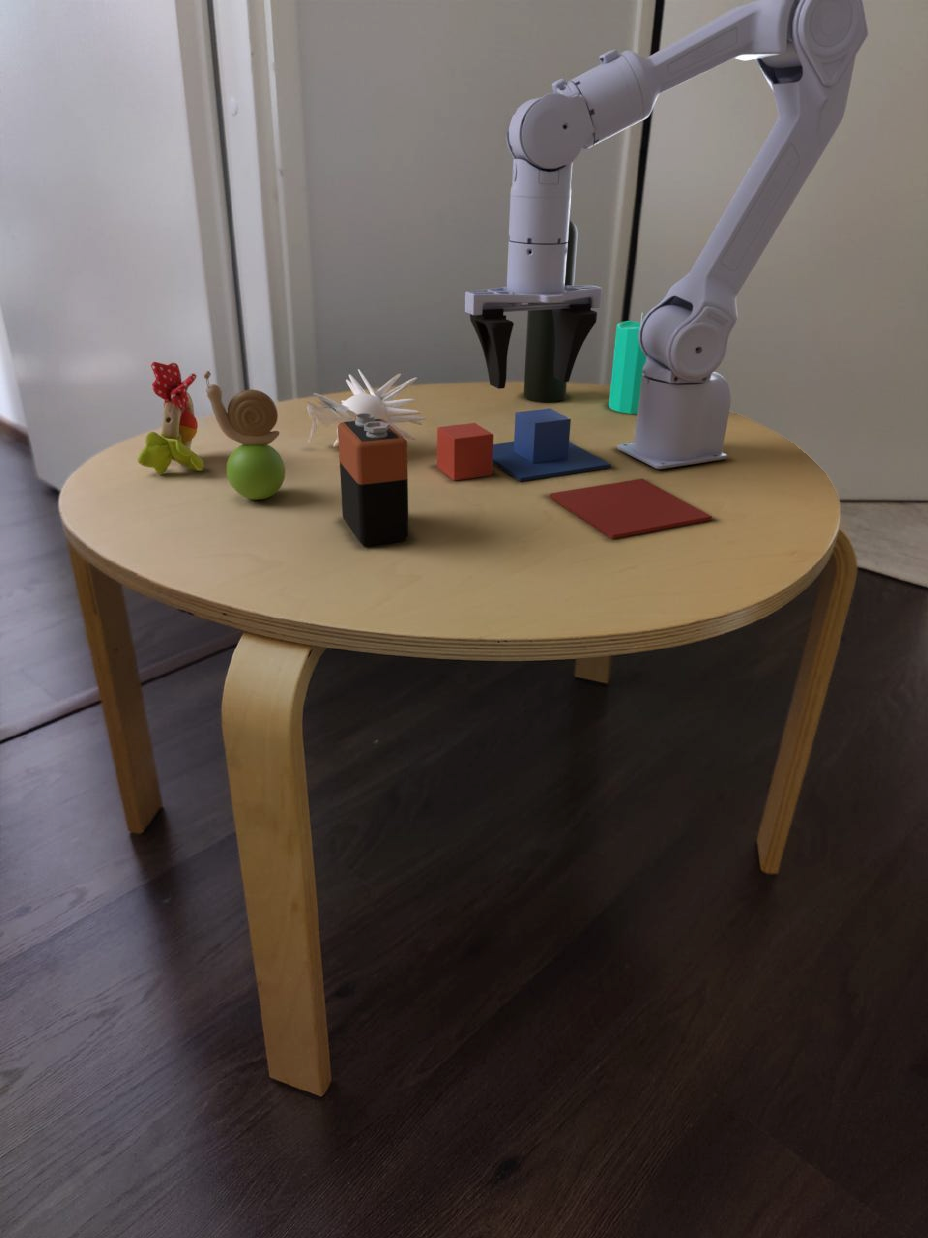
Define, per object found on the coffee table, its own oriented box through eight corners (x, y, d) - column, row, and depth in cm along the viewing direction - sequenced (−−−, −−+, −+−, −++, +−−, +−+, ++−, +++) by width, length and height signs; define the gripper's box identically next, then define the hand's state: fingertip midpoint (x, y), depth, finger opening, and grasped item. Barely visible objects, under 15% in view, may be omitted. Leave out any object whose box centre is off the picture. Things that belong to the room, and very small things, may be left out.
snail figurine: (224, 488, 85) (208, 364, 79) (290, 487, 86) (279, 364, 80) (215, 508, 80) (197, 379, 75) (284, 507, 81) (272, 378, 75)
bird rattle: (155, 478, 93) (132, 471, 84) (150, 373, 92) (126, 355, 83) (214, 477, 94) (197, 471, 85) (210, 373, 93) (192, 355, 84)
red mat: (641, 482, 89) (642, 478, 88) (711, 520, 80) (712, 516, 80) (549, 497, 84) (549, 493, 84) (612, 539, 76) (612, 534, 76)
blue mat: (557, 438, 101) (558, 435, 101) (610, 467, 92) (610, 464, 92) (473, 450, 97) (473, 446, 97) (520, 481, 88) (520, 477, 88)
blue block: (547, 446, 97) (550, 408, 95) (568, 458, 94) (571, 418, 91) (513, 451, 95) (515, 412, 93) (532, 463, 92) (535, 423, 90)
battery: (361, 548, 73) (356, 433, 68) (341, 519, 79) (335, 411, 74) (410, 541, 75) (408, 428, 70) (387, 513, 80) (384, 406, 75)
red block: (473, 462, 93) (474, 422, 91) (492, 475, 90) (493, 433, 88) (436, 467, 92) (436, 426, 89) (454, 480, 88) (454, 438, 86)
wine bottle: (568, 393, 119) (586, 146, 105) (562, 403, 114) (581, 146, 100) (527, 389, 120) (540, 145, 106) (520, 400, 116) (532, 145, 101)
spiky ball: (293, 454, 98) (278, 380, 93) (382, 426, 104) (372, 355, 99) (342, 480, 90) (329, 402, 85) (435, 448, 96) (428, 373, 91)
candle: (654, 415, 110) (666, 317, 105) (607, 411, 111) (616, 314, 106) (654, 403, 116) (666, 309, 110) (609, 399, 117) (619, 306, 111)
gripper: (489, 247, 77) (484, 398, 84) (624, 243, 83) (609, 385, 89) (456, 239, 83) (454, 381, 89) (585, 236, 88) (574, 370, 95)
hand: (529, 383), depth 90 cm, fingers open, 7 cm apart
